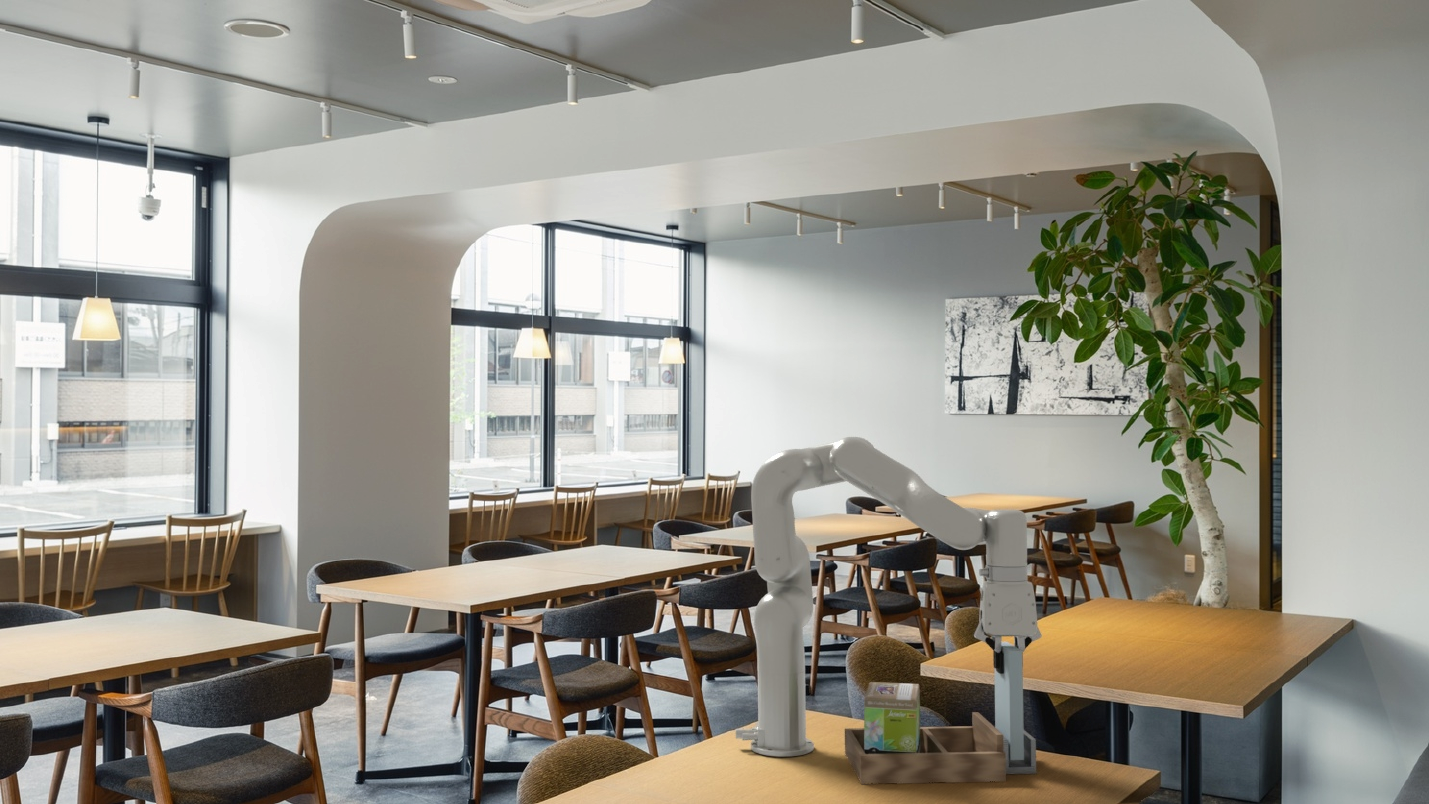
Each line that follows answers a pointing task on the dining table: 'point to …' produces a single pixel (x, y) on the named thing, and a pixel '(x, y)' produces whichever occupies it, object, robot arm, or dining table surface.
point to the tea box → (892, 718)
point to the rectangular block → (1010, 701)
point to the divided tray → (935, 756)
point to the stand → (1029, 757)
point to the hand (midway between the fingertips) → (1008, 671)
